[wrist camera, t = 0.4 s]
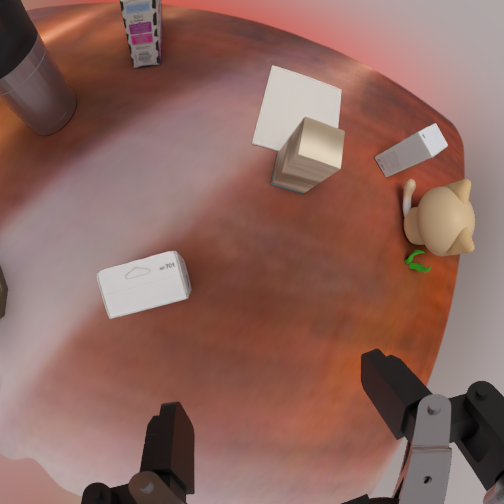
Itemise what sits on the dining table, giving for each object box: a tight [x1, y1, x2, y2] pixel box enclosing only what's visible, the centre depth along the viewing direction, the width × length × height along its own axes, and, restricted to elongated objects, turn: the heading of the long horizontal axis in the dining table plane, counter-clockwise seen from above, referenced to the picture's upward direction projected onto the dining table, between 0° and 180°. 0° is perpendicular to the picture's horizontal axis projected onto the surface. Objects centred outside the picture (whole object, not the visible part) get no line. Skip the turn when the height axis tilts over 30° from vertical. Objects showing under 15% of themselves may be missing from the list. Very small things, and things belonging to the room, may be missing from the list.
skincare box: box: [374, 123, 448, 178], centre depth 39 cm, size 6×4×12 cm
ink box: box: [96, 251, 191, 319], centre depth 31 cm, size 9×5×12 cm, turn 105°
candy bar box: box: [120, 0, 163, 68], centre depth 30 cm, size 11×5×16 cm, turn 8°
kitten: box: [403, 179, 475, 272], centre depth 37 cm, size 15×10×15 cm
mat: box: [252, 65, 341, 152], centre depth 42 cm, size 16×13×1 cm
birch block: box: [270, 117, 345, 194], centre depth 35 cm, size 5×5×12 cm
